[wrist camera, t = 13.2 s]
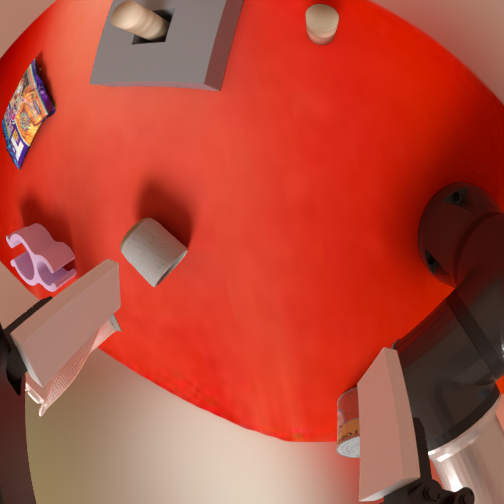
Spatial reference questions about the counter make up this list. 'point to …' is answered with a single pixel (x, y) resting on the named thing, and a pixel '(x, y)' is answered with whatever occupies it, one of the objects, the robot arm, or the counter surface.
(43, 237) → the clip
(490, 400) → the robot arm
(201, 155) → the counter surface
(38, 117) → the food package
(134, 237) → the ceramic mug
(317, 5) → the short pin
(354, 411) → the canned food
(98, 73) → the hole block
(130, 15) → the long pin
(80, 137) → the counter surface
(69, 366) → the skyscraper
